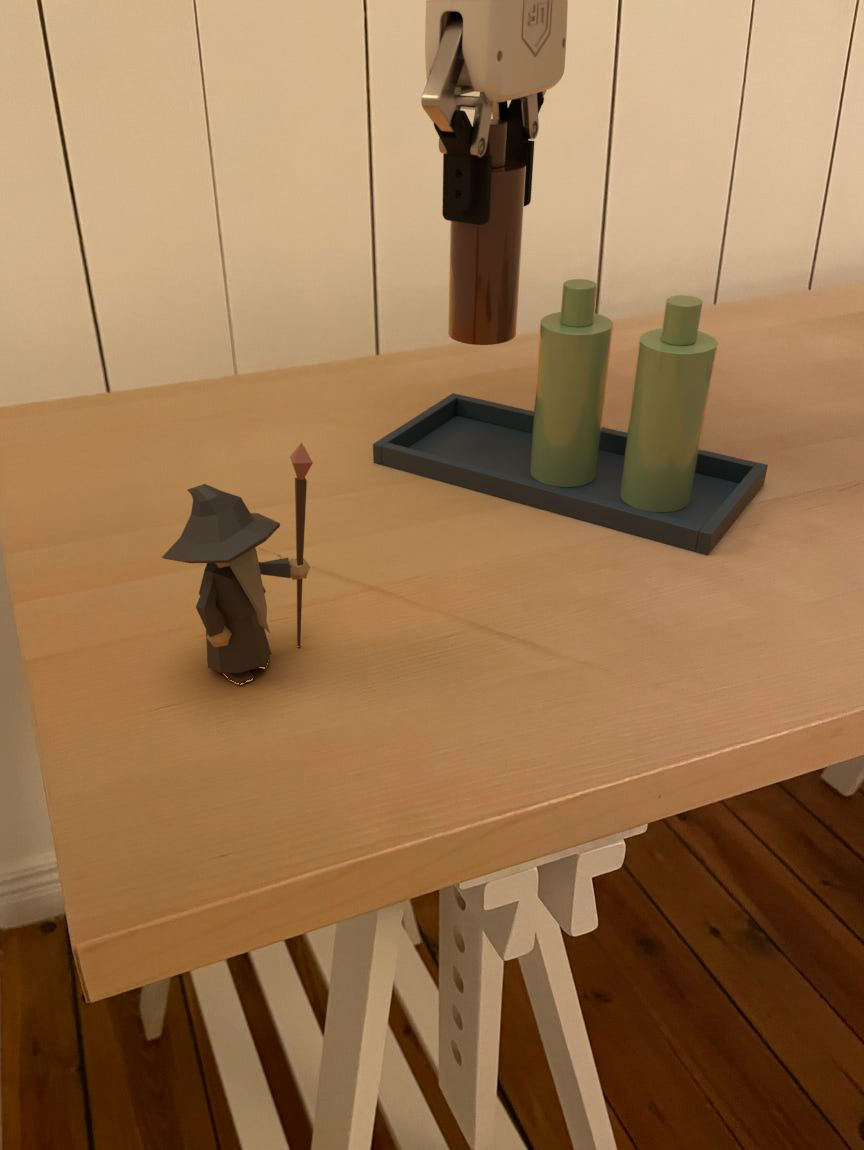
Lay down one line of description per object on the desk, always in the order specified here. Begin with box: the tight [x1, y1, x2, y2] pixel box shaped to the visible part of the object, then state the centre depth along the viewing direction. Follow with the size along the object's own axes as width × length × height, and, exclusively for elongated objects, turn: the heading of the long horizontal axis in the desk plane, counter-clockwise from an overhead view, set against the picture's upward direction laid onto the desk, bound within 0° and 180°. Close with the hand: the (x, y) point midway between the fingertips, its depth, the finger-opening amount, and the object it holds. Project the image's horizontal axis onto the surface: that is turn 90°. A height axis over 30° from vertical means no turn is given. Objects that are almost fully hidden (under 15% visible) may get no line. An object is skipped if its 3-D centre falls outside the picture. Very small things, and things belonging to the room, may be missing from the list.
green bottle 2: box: [620, 294, 719, 513], centre depth 66 cm, size 5×5×14 cm
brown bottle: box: [447, 118, 526, 346], centre depth 67 cm, size 5×5×14 cm
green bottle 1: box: [530, 278, 614, 487], centre depth 69 cm, size 5×5×14 cm
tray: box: [372, 392, 769, 556], centre depth 73 cm, size 26×12×2 cm, turn 56°
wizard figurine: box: [161, 442, 314, 685], centre depth 53 cm, size 8×6×12 cm
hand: (487, 209), depth 67 cm, fingers closed on brown bottle, 4 cm apart
